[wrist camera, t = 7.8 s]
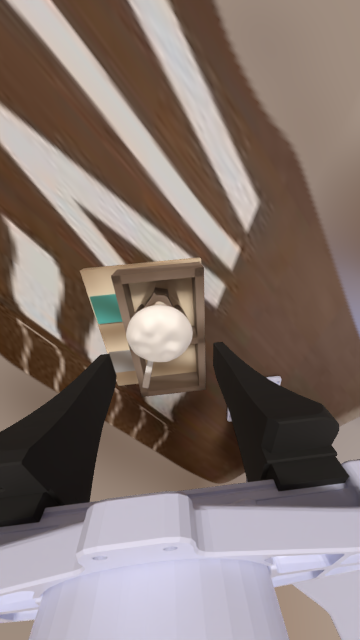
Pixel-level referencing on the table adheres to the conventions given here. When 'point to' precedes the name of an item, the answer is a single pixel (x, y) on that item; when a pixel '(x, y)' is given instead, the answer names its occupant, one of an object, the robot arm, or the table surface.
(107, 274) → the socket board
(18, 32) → the table surface
